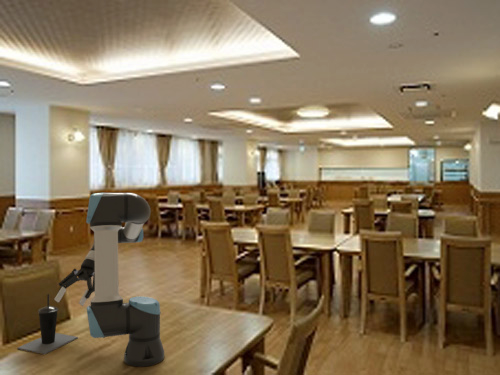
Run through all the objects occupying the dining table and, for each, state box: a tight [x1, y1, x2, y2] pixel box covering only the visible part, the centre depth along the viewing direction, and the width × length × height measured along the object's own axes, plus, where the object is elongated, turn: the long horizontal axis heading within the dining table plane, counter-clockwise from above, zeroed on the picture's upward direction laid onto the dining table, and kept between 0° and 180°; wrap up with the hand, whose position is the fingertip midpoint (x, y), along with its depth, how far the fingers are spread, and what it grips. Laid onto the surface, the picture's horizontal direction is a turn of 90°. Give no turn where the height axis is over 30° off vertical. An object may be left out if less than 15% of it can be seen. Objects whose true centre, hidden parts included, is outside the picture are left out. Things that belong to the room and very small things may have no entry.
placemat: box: [17, 332, 79, 355], centre depth 180 cm, size 14×18×1 cm
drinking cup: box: [37, 293, 59, 344], centre depth 180 cm, size 8×8×20 cm
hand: (68, 302), depth 190 cm, fingers open, 13 cm apart
